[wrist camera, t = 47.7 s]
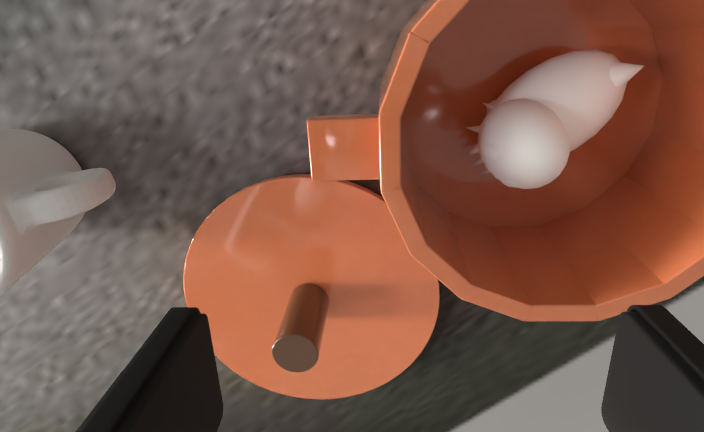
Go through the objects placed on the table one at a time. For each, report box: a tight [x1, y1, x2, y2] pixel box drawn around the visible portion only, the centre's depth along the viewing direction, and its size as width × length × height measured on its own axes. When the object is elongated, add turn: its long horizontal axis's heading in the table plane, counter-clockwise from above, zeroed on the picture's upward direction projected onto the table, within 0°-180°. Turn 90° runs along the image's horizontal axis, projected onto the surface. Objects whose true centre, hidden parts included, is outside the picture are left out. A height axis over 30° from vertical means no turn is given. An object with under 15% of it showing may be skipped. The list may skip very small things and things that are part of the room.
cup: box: [0, 129, 116, 296], centre depth 24 cm, size 11×8×8 cm
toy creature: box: [465, 49, 644, 189], centre depth 21 cm, size 5×8×6 cm, turn 126°
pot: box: [307, 0, 704, 321], centre depth 20 cm, size 15×20×8 cm
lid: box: [183, 174, 440, 399], centre depth 26 cm, size 16×16×6 cm
